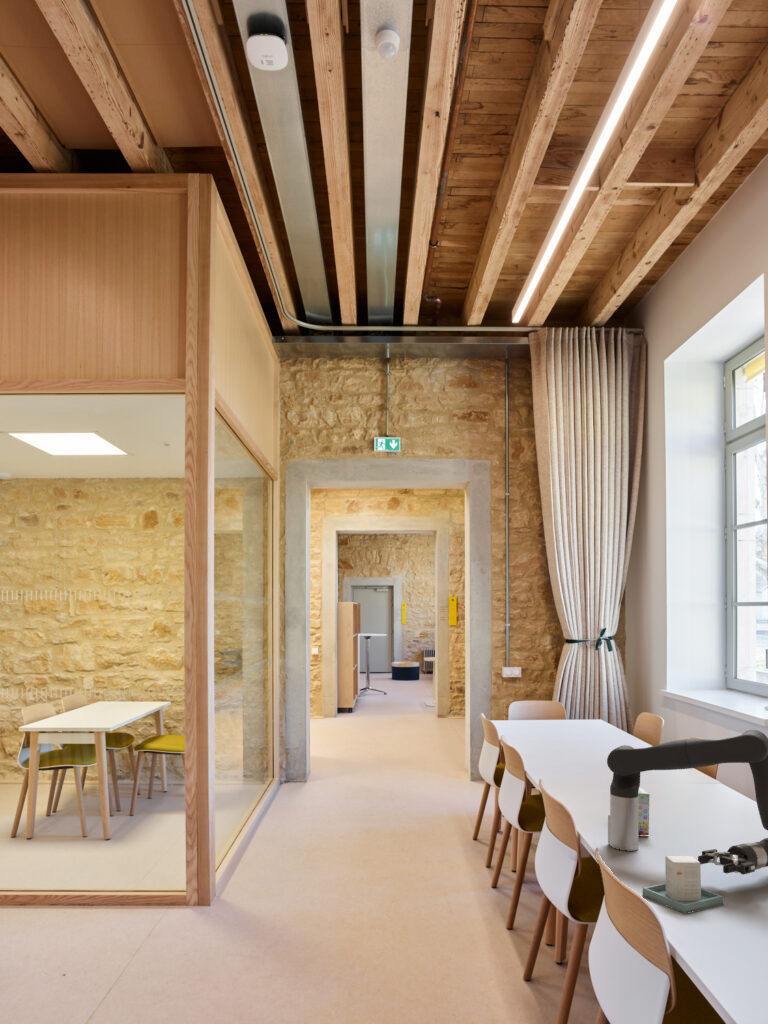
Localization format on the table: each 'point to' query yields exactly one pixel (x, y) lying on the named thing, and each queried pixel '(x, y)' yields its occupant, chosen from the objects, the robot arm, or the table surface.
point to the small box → (683, 878)
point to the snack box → (643, 812)
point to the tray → (660, 896)
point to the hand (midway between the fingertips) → (711, 864)
